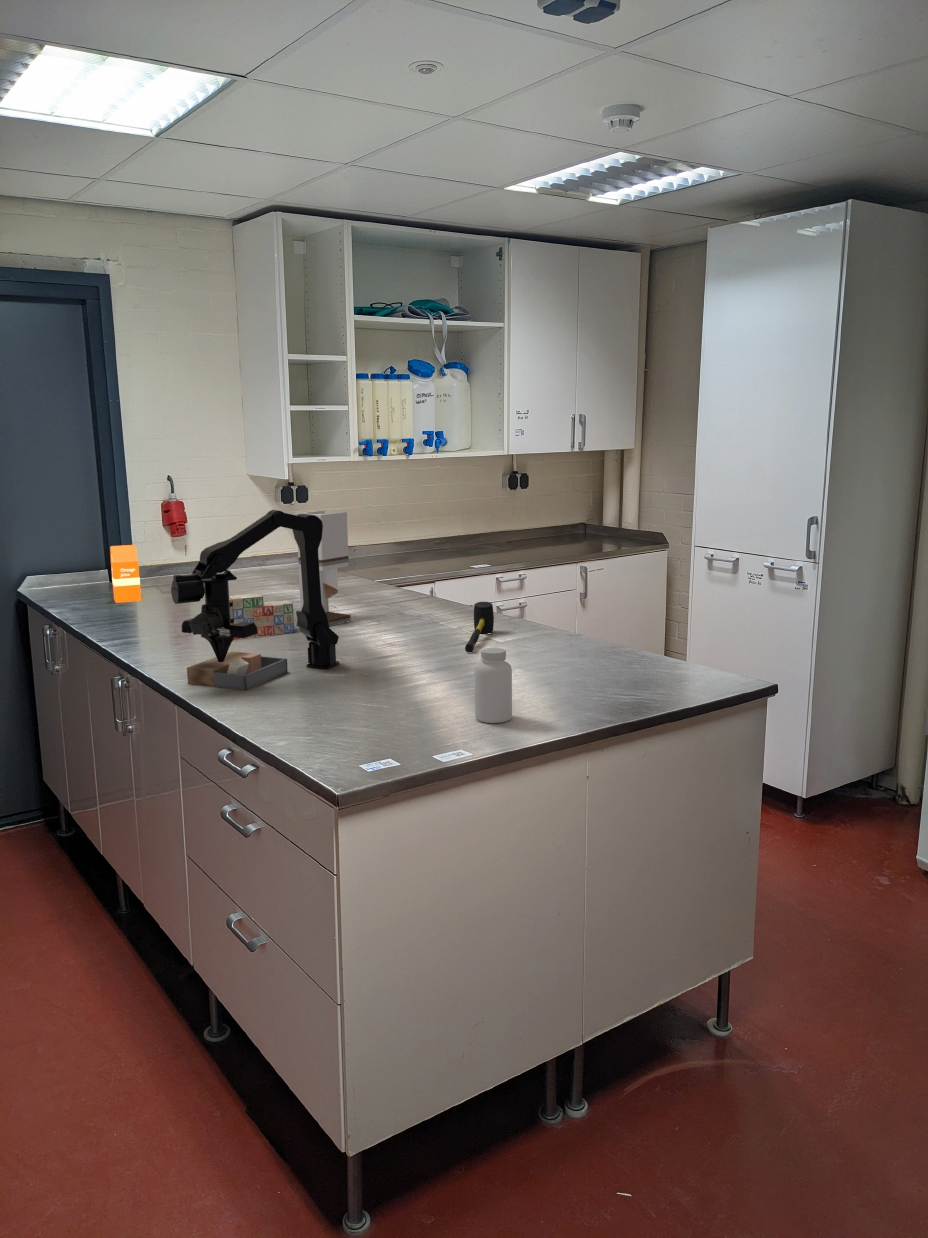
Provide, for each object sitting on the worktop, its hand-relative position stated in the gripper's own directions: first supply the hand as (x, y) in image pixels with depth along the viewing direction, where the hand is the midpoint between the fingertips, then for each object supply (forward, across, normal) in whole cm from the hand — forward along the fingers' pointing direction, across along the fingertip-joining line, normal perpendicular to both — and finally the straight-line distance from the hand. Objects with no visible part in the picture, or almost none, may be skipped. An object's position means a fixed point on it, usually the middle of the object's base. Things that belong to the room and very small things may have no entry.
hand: (221, 661), depth 232 cm
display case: (+5, -13, +70) cm, 72 cm away
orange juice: (+5, -102, +79) cm, 129 cm away
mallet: (+5, +43, +62) cm, 76 cm away
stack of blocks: (+5, -23, +48) cm, 53 cm away
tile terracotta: (+2, +2, +8) cm, 9 cm away
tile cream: (+2, +3, 0) cm, 4 cm away
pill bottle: (+5, +73, -4) cm, 73 cm away
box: (+5, +6, +4) cm, 9 cm away
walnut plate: (+5, -3, +4) cm, 7 cm away
